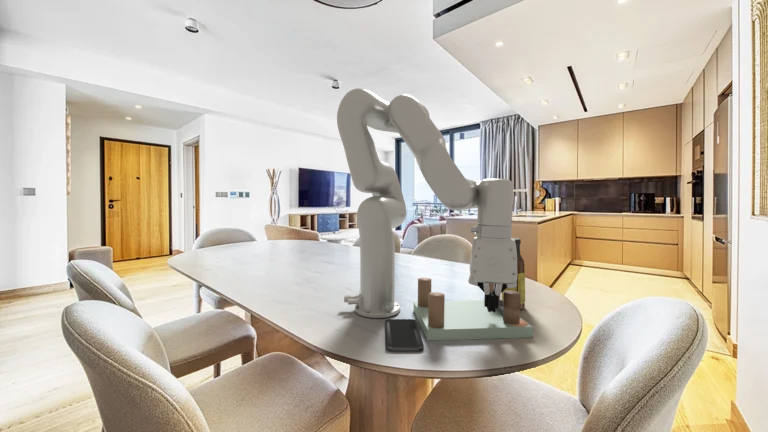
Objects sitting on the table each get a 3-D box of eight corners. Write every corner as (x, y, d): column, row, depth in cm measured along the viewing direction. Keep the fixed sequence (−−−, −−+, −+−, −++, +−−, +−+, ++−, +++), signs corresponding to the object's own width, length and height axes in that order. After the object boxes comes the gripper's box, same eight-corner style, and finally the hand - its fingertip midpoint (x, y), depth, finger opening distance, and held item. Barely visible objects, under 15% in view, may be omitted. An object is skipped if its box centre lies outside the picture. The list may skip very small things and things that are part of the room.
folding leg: (492, 306, 81) (493, 281, 80) (506, 306, 80) (507, 282, 80) (505, 323, 70) (506, 295, 69) (522, 324, 69) (522, 295, 69)
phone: (386, 348, 62) (385, 319, 77) (386, 353, 62) (385, 323, 77) (425, 348, 62) (416, 319, 77) (425, 353, 63) (416, 323, 78)
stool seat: (427, 340, 67) (427, 298, 67) (413, 310, 85) (413, 277, 85) (532, 337, 69) (533, 296, 69) (497, 308, 87) (498, 275, 86)
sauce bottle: (520, 303, 91) (522, 237, 90) (528, 311, 85) (530, 240, 84) (498, 302, 92) (499, 236, 91) (504, 310, 86) (505, 239, 84)
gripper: (461, 233, 69) (458, 313, 70) (532, 235, 66) (529, 319, 67) (460, 229, 76) (458, 302, 77) (524, 232, 73) (521, 307, 74)
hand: (491, 310), depth 72 cm, fingers closed
